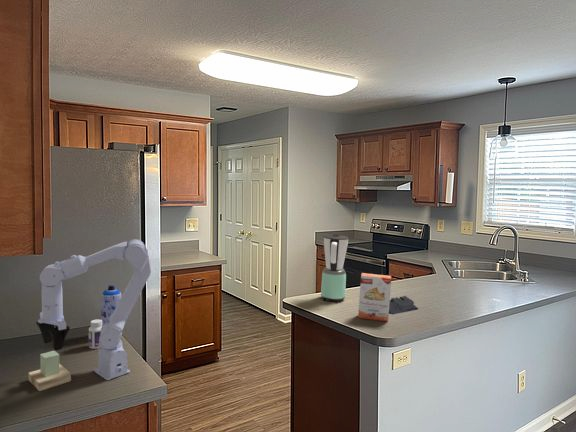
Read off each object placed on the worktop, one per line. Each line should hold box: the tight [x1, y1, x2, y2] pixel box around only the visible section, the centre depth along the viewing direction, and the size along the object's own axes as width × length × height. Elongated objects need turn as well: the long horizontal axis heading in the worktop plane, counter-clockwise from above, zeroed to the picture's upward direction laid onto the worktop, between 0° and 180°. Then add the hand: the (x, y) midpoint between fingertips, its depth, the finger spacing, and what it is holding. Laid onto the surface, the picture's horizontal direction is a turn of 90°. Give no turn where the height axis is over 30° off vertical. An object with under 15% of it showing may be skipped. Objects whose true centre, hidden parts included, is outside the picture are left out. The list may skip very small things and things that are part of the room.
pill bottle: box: [88, 318, 102, 350], centre depth 159 cm, size 5×5×10 cm
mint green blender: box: [320, 234, 350, 303], centre depth 229 cm, size 19×13×35 cm
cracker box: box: [357, 272, 392, 322], centre depth 203 cm, size 14×6×21 cm, turn 76°
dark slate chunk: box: [389, 295, 419, 315], centre depth 222 cm, size 15×22×5 cm
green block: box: [39, 350, 60, 377], centre depth 133 cm, size 4×4×6 cm
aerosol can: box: [100, 285, 123, 337], centre depth 170 cm, size 8×8×20 cm
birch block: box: [28, 363, 72, 392], centre depth 133 cm, size 9×9×3 cm
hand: (53, 345), depth 134 cm, fingers open, 7 cm apart
